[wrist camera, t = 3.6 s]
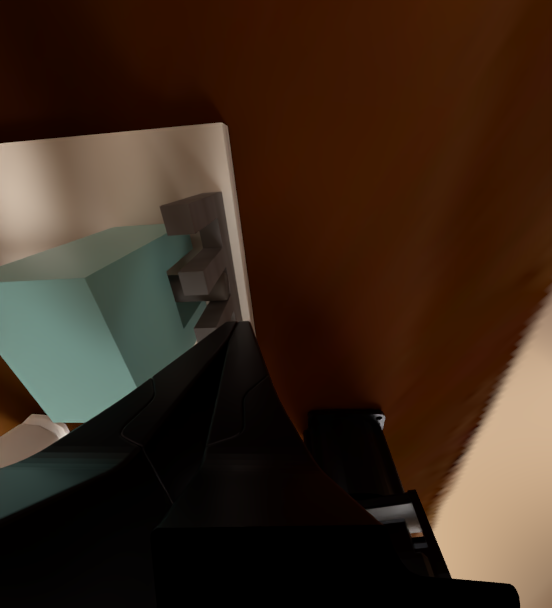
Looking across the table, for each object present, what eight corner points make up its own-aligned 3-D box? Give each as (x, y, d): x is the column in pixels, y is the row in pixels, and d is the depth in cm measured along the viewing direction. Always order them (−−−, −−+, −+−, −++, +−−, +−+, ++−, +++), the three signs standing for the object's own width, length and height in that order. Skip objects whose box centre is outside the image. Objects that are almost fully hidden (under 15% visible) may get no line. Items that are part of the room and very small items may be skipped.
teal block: (186, 222, 13) (84, 277, 6) (209, 316, 16) (153, 421, 9) (113, 227, 13) (-55, 284, 7) (148, 319, 16) (53, 422, 9)
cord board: (227, 126, 12) (181, 95, 7) (257, 350, 19) (245, 420, 14) (-99, 156, 13) (-347, 150, 8) (38, 356, 20) (-49, 422, 15)
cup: (9, 394, 23) (-117, 497, 16) (118, 429, 25) (50, 534, 17) (11, 435, 26) (-92, 535, 19) (108, 463, 28) (47, 564, 21)
